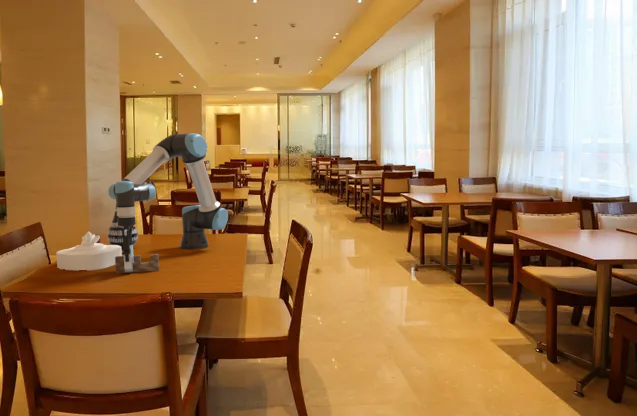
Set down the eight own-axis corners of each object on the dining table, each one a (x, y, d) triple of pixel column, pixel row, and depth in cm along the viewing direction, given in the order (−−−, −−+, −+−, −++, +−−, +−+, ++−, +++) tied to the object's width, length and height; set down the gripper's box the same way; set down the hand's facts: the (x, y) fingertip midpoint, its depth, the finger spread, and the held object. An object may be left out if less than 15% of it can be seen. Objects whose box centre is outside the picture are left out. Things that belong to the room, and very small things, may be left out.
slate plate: (127, 267, 238) (125, 245, 236) (134, 266, 238) (132, 244, 237) (124, 271, 228) (123, 249, 227) (132, 271, 229) (130, 248, 228)
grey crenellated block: (159, 269, 238) (158, 253, 237) (158, 270, 235) (158, 255, 234) (116, 272, 233) (115, 256, 232) (115, 273, 230) (115, 257, 230)
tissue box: (129, 260, 259) (127, 228, 257) (94, 272, 235) (92, 236, 234) (87, 258, 266) (85, 226, 264) (49, 269, 242) (46, 234, 241)
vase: (101, 250, 286) (98, 196, 283) (122, 245, 301) (119, 193, 298) (124, 251, 280) (121, 196, 277) (144, 246, 295) (141, 194, 292)
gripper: (119, 213, 240) (122, 261, 243) (113, 220, 219) (117, 272, 221) (137, 213, 242) (139, 260, 245) (133, 219, 220) (136, 271, 223)
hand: (129, 266), depth 233 cm, fingers open, 10 cm apart
